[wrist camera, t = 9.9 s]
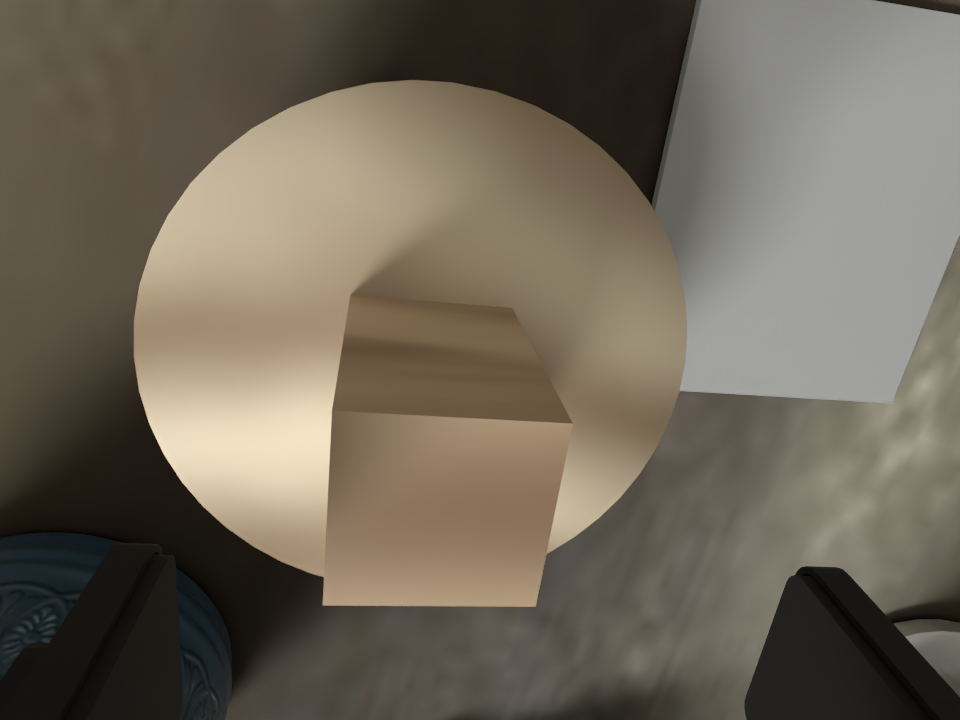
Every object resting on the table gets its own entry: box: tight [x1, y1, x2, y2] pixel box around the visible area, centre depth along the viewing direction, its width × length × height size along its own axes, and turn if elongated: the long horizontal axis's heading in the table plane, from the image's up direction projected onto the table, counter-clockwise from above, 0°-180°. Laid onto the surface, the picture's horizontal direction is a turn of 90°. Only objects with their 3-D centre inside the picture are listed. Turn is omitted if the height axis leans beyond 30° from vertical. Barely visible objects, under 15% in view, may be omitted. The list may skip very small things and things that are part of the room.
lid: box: [134, 80, 687, 607], centre depth 15 cm, size 14×14×7 cm
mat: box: [651, 0, 960, 403], centre depth 24 cm, size 12×14×1 cm
